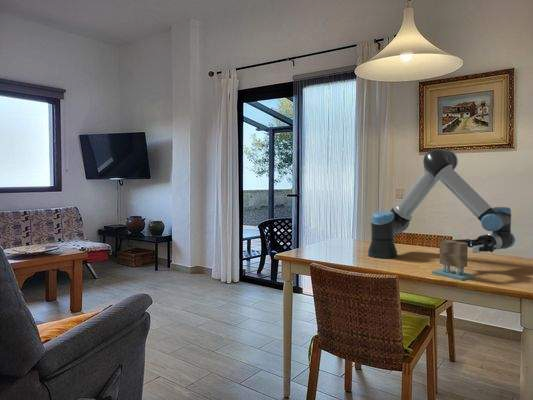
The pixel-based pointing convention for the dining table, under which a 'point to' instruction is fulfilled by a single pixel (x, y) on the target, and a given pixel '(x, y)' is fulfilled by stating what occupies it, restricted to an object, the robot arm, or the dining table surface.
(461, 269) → the peg stand
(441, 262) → the brown boxy piece
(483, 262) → the dining table surface
